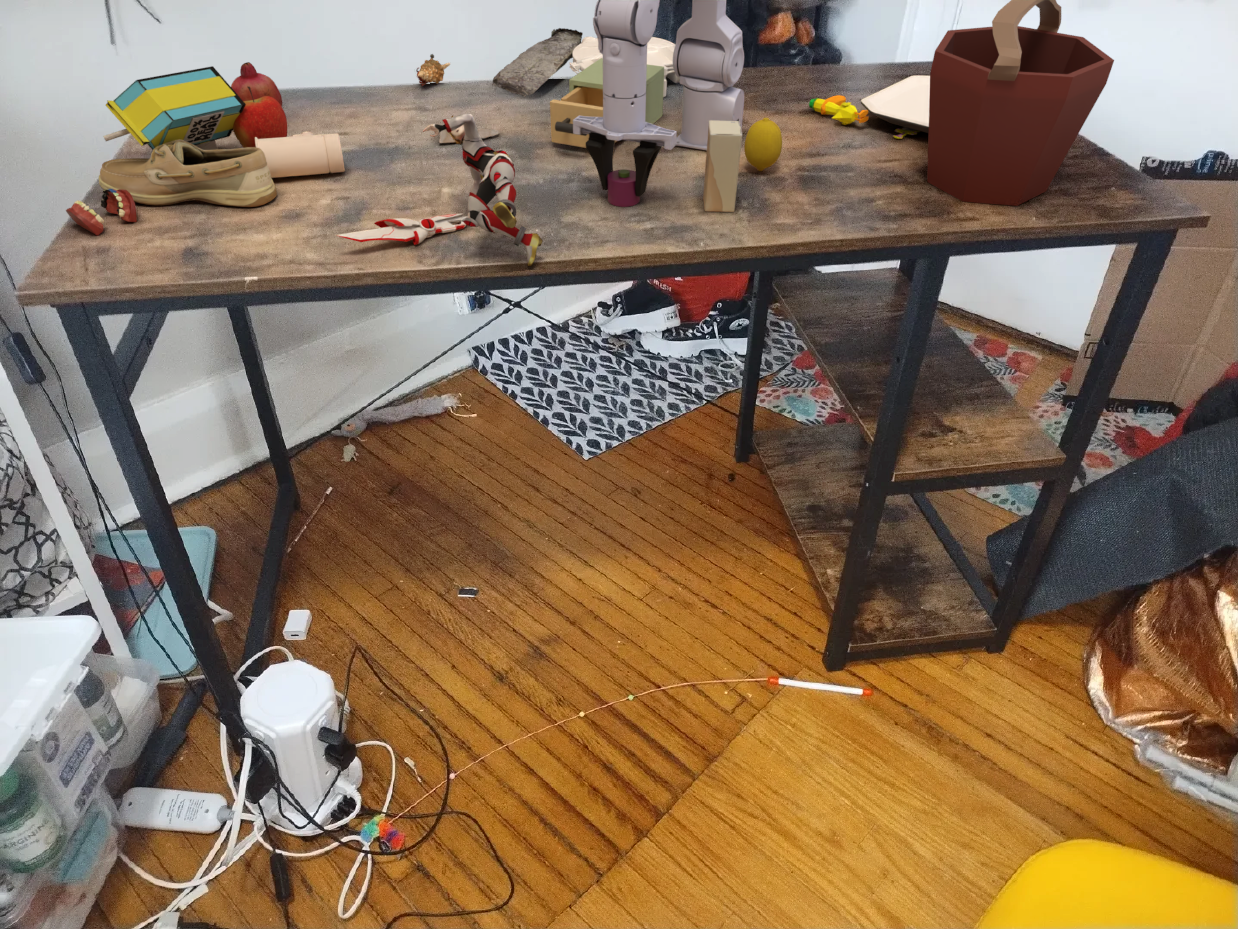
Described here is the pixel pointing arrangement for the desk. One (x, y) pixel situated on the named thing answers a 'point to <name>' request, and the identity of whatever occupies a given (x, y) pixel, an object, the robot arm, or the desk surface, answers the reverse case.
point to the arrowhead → (483, 133)
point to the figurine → (431, 71)
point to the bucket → (1009, 104)
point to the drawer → (574, 114)
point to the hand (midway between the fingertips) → (623, 190)
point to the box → (722, 165)
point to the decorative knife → (905, 132)
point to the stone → (538, 62)
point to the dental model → (113, 203)
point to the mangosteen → (622, 188)
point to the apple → (260, 121)
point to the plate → (903, 103)
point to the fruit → (254, 85)
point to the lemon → (763, 144)
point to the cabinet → (654, 86)
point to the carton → (177, 108)
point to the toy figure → (838, 109)
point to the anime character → (489, 180)
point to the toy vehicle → (656, 55)
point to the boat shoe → (193, 176)
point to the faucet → (302, 154)
